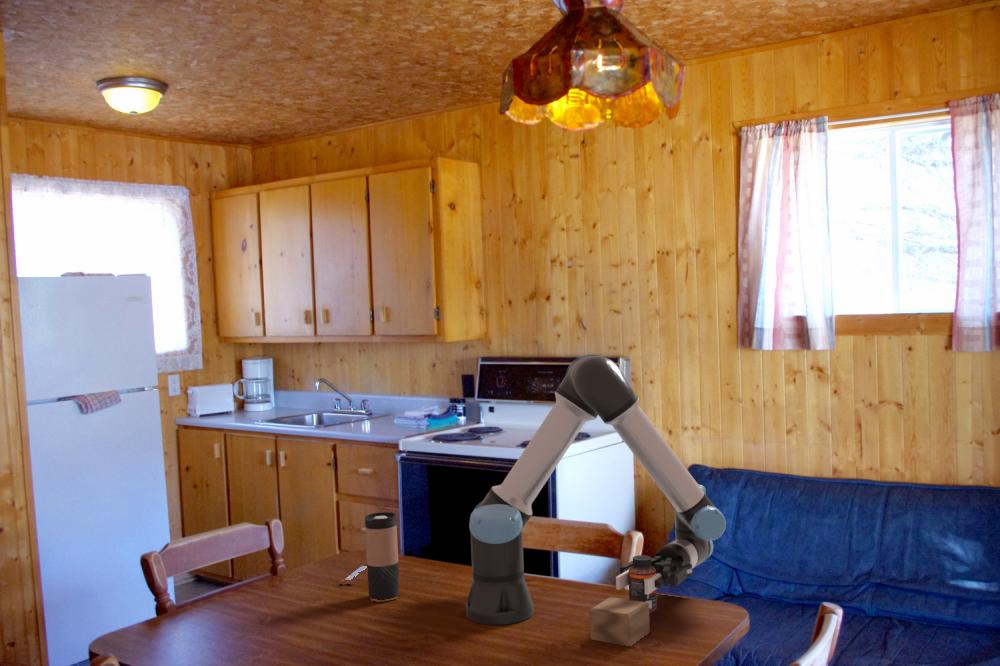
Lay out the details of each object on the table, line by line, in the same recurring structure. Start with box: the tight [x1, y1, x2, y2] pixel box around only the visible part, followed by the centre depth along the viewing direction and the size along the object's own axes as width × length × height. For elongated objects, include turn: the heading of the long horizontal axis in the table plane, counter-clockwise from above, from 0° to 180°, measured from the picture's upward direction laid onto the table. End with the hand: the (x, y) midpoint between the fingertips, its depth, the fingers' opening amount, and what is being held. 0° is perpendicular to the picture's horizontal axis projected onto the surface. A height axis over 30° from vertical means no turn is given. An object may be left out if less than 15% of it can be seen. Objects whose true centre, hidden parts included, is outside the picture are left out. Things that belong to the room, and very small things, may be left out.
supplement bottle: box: [628, 554, 658, 614], centre depth 188 cm, size 6×6×11 cm
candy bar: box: [340, 565, 367, 581], centre depth 231 cm, size 17×4×2 cm, turn 166°
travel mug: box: [364, 511, 400, 600], centre depth 212 cm, size 8×8×20 cm
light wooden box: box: [588, 596, 651, 647], centre depth 179 cm, size 9×9×6 cm
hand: (631, 585), depth 184 cm, fingers closed on supplement bottle, 6 cm apart
